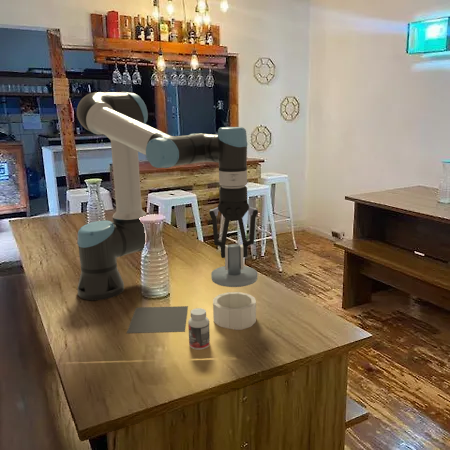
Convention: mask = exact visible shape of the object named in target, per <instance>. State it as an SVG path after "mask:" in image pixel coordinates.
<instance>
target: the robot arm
mask: <svg viewBox="0 0 450 450" xmlns="http://www.w3.org/2000/svg"><path fill="white" fill-rule="evenodd" d="M148 114H149V112H148V109H147V105H146V104H145V102H144V100H143V99H142V98H141V96H140V95H138V94H136V93H134V92H127V91H121V92H120V91H119V92H118V91H116V92H115V91H113V92H111V91H107V92H106V91H104V92H101V91H98V92H97V91H94V92H90V93H87V94H86V95H85V96H84V97H82V98H81V99H80V101H78V105H77V107H76V117H77V120H78V121H79V123H80V125H81V126H82V127H83V128H84V129H85V130H87V131H88V132H90V133H93V134H94V135H104V136H105V137H107V138H108V139H109V140H110V145H111V146H110V147H111V161H112V171H113V172H112V173H113V182H114V183H113V184H114V194H115V195H114V196H115V207H116V208H115V209H116V211H115V212H114V213H113V215H112V221H110V220H99V221H97V220H96V221H91V222H89V223H86V224H84V225H82V226H81V227H80V228H79V229H78V232H77V242H76V243H77V246H78V254H79V256H78V257H79V264H80V275H79V280H78V285H77V295H78V297H79V299H80V298H81V299H82V300H87V301H100V300H101V301H102V300H107V299H110V298H114V297H117V296H119V295H120V294H122V293H123V292H124V290H125V283H124V280H123V277H122V275H121V273H120V272H119V271H120V270H119V269H118V264H117V258H120V257H123V256H126V255H131V254H133V253H137V252H141V251H143V250H144V249H143V248H144V244H145V233H144V227H143V224H142V223H141V222H140V220H139V218H140V217H143V216H146V215H147V213H146V212H145V211H144V209H143V206H142V194H141V178H140V161H139V153H140V154H142V155H144V156H146V158H147V159H146V160H147V161H148V162H149V163H150V165H151V166H152V167H153V168H157V169H162V168H163V169H164V168H165V169H167V168H168V169H169V168H172V167H177V166H183V165H192V164H197V163H199V164H200V163H204V162H205V163H217V164H218V180H219V181H218V185H220V187H219V188H218V193H219V196H218V197H219V201H218V202H219V203H218V205H217V207H214V208H210V209H209V212H208V213H209V216H210V218H211V221H212V222H211V224H212V232H213V243H214V245H215V246H218V247H220V257H221V258H222V259H224V265H225V270H228V245H229V244H226V243H227V237H228V231H229V225H230V221H238V226H239V231H240V237H241V241H242V244H239V245H240V254H241V270H244V266H245V265H244V258H247V257H248V246H250V245H254V244H255V230H256V218H257V216H258V213H259V210H258V208H256V207H251V206H250V205H249V203H248V187H247V184H248V166H247V162H248V160H247V159H248V138H247V130H246V129H245V128H244V127H242V126H225V127H224V126H223V127H219V128H218V130H217V133H216V134H212V133H211V134H210V133H202V132H200V133H199V132H198V133H190V134H188V135H177V136H176V135H175V136H174V135H170V134H168V133H166V132H163V131H162V130H159V129H157V128H154V127H152V126H150V125H149V124H147V122H148V119H149V118H148V117H149V115H148ZM219 212H220V214H221V215H222V216H223V218H224V219H223V220H224V222H223V227H222V233H221V238H220V239H221V240H220V239H219V231H218V229H219V228H218V221H217V220H218V219H217V218H218V216H219ZM247 212H248V214H249V216H250V217H249V230H248V231H249V232H248V233H249V235H248V239H247V235H246V230H245V224H244V220H243V218H244V216H245V215H246V214H247Z"/></svg>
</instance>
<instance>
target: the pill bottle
mask: <svg viewBox="0 0 450 450" xmlns="http://www.w3.org/2000/svg"><path fill="white" fill-rule="evenodd" d="M187 324H188V325H187V326H188V345H189V347H190V348H191V349H193V350H197V351H199V350H205V349H207V348H208V347H209V346H210V344H211V343H210V319H209V318H208V317H207V311H206V309H205V308H202V307H198V308H197V307H196V308H193V309H191V310H190V318H189V319H188V323H187Z"/></svg>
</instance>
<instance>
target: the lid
mask: <svg viewBox="0 0 450 450" xmlns="http://www.w3.org/2000/svg"><path fill="white" fill-rule="evenodd" d="M227 245H228V270H225V266H224V265H222V266H220V267H217V268H215V269H212V271H211V273H210V275H211V278H210V279H211V281H212V283H214V284H216V285H218V286H221V287H227V288H241V287H247V286H251V285H253V284H254V283H256V282H257V281H258V271H257V270H256V268H253V267H250V266H247V265H244V270H241V254H240V245H241V244H237V243H236V244H235V243H233V244H232V243H231V244H227Z"/></svg>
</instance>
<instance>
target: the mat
mask: <svg viewBox="0 0 450 450" xmlns="http://www.w3.org/2000/svg"><path fill="white" fill-rule="evenodd" d="M188 309H189V306H188V305H187V306H183V305H182V306H146V307H144V306H143V307H142V306H141V307H135V309H134V311H133V315H132V317H131V320H130V323H129V326H128V328H127V331H126V334H149V333H153V334H154V333H183V332H184V333H185V332H186V326H187V325H186V324H187V318H188V311H189V310H188Z"/></svg>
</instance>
